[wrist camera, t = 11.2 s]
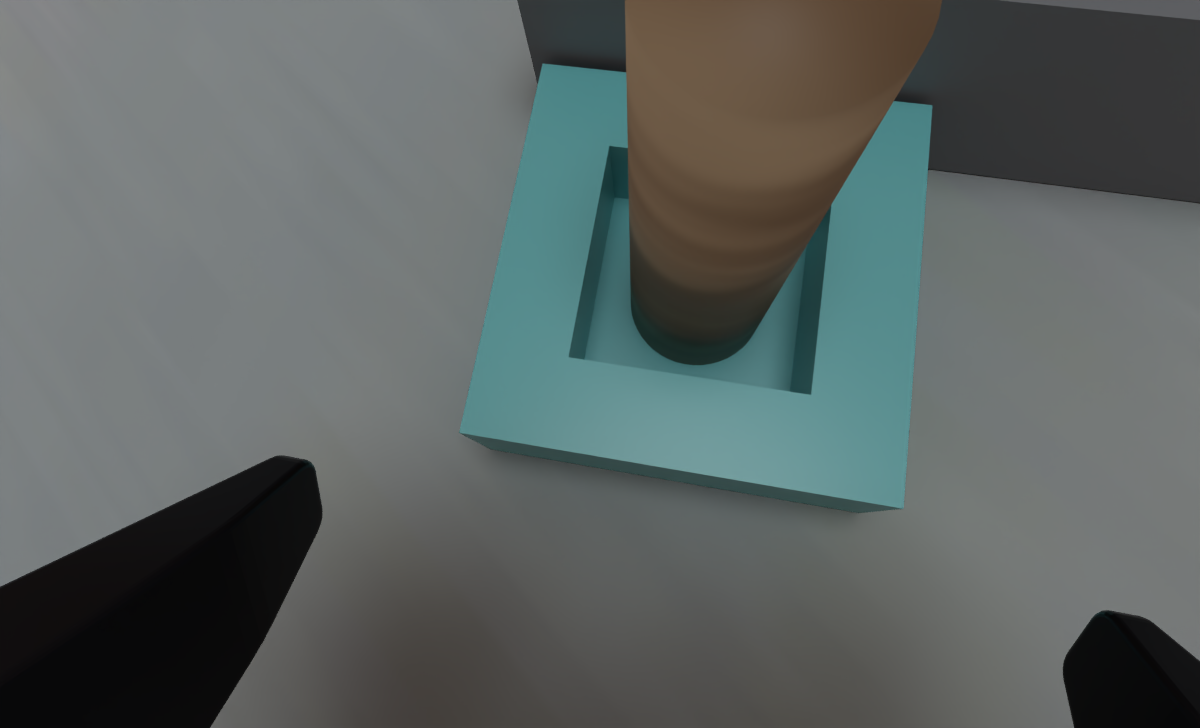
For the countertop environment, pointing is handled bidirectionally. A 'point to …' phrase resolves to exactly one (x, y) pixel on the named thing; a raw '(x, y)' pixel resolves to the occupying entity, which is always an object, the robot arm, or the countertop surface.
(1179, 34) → the backstop wall
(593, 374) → the socket block
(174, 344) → the countertop surface
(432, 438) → the countertop surface
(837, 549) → the countertop surface
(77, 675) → the robot arm
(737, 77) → the dowel
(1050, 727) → the countertop surface
